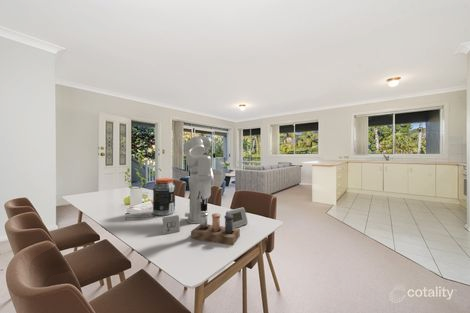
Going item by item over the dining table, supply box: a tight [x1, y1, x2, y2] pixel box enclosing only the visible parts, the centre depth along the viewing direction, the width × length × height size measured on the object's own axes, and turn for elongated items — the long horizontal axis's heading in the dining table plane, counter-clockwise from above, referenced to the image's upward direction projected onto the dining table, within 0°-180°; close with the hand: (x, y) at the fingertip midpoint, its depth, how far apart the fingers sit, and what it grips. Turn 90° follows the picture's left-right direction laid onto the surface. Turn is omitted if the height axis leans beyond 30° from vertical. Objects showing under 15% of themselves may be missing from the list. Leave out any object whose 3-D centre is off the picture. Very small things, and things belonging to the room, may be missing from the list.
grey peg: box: [199, 211, 209, 230], centre depth 109 cm, size 5×5×9 cm
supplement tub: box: [152, 177, 176, 216], centre depth 148 cm, size 16×16×26 cm
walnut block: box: [190, 223, 241, 247], centre depth 107 cm, size 24×12×4 cm, turn 72°
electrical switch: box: [162, 214, 181, 235], centre depth 114 cm, size 9×5×9 cm, turn 121°
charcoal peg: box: [224, 214, 233, 234], centre depth 104 cm, size 5×5×9 cm
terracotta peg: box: [211, 212, 221, 232], centre depth 107 cm, size 5×5×9 cm
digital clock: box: [225, 207, 249, 229], centre depth 124 cm, size 16×9×11 cm, turn 123°
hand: (204, 210), depth 109 cm, fingers closed
